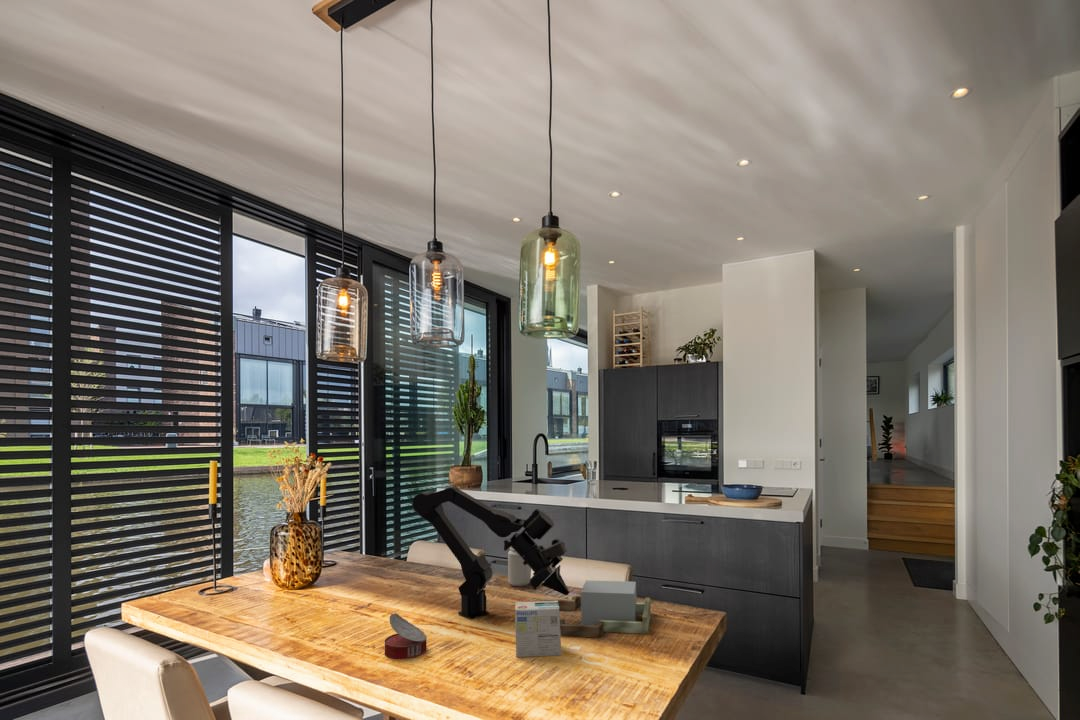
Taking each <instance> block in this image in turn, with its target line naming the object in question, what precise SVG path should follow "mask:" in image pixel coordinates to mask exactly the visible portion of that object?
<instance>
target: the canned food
mask: <svg viewBox="0 0 1080 720" xmlns="http://www.w3.org/2000/svg"><path fill="white" fill-rule="evenodd" d="M389 624H390V626H391V628H392V629H393V631H394V632H395V633H394V634H392V635H390V636H387V637H386V638H385V639H384V656H385V657H386V658H388V659H391V660H411V659H414V658H417V657H421V656H422V655H424V654H425V653H426V652H427V635H426V634H425V632H424V631H423V630H422V629H420V628H419V627H418V626H416V625H414V624H413V623H411V622H409V621H408V620H407V619H405V618H403V617H402V616H401V615H400V614H397V613H396V612H395V613H391V614H390V616H389Z"/></svg>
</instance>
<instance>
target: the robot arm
mask: <svg viewBox="0 0 1080 720" xmlns="http://www.w3.org/2000/svg"><path fill="white" fill-rule="evenodd" d="M447 502H449V503H452V504H453V505H455V506H456V507H458V508H460V509H462V510H463V511H465V512H467V513H468V514H470V515H472V516H473V517H475V518H477V519H479V520H480V521H482V522H484V524H485V525H486V526H487V528H488V529H489V530H490V531H492V532H493V533H494V534H495V535H496V536H498V537H499V538H506V539H504V540H503V545H504V547H503V551H504V552H506V551H508V550H510V548H511V547H512V548H513V549H514V550H515V551H516V553H517V554H518V555H519V556H520V557H521V558H522V557H523V556H524V555H525V556H524V557H523V558H522V559H523V560H524V562H523V564H524V565H526V564H527V565H528V566H529V567H530V569H531V570H532V571H533V573H532V575H533V576H531V579H530V582H529V585H530V586H531V587H532V589H533V590H536V589H537V588H538V587H540V586H542V587H545V588H547V589H550V590H553V591H556V592H557V593H560V594H562V595H565V596H568V595H569V594H570V590H569V588H568V587H567V585H566V583H565V580H564V579H563V577H562V575H561V564H560V563H561V562H562V561H563V560H564V558H563V556H564V555H565V554H566V553H567V551H568V550H567V549H566V546H565V545H566V543H565V542H563V540H562V539H561V540H560V539H559V538H554V539H552V541H551V545H549V546H547V547H544V546H543V545H541V544H540V545H538V544H537V542H536V541H535V540H541V539H542V538H544V536H545V535H547V533H549V532H550V531H551V529H553V527H554V526H555V523H554V521H553V520H552V518H551V517H550V516H549V515H548V514H546V513H545V512H543V511H541V510H540V508H538V507H537V508H536V509H534V510H533V512H532V513H531V515H529V517H528V518H526V519H523V518H519V517H516V516H515V515H514V514H512V513H509V512H507V511H503V510H500V509H496V508H492V507H490V506H489V505H487V504H485V503H483V502H481V501H480V500H478V499H476V498H475V497H473V496H472V495H470V494H468V493H467V492H464V491H462V490H461V489H460V488H458V487H457V486H454V485H452V486H449V487H446V488H445V489H442V490H438V491H433V490H427V491H424V492H420V493H417V494H416V495H415V496H414V497H413V499H412V503H411V506H412V508H413V510H414V511H415V513H417V514H418V515H419V517H421V518H422V519H423V520H425V521H426V522H428V523H430V524H431V525H432V527H433V528H434V529H435V531H436V532H437V534H438V535H439V537H440V538H441V539H442V540H443V542H444V543H445V545H446V546H447V547H448V549H449V550H450V551H451V553H452V554H453V556H454V557H455V559H456V560H457V561H458V563H459V565H460V568H461V572H462V575H463V577H464V579H465V581H463V583H462V584H461V585H460V586H458V591H459V595H460V596H461V598H460V599H461V600H460V603H461V604H460V605H461V607H460V608H461V609H460V610H461V611H458V612H457V614H458V615H459V616H462V617H466V618H468V619H474V618H478V617H483V616H485V615H489V614H490V611H488V610H487V595H486V590H485V589H486V588H487V587H486V586H487V584H488V583H489V582H490V581H491V580H492V578H493V569H492V564H491V563H490V562H489V561H488V560H487V559H486V557H485V555H484V554H481V555H479V556H478V555H476V554H475V553H474V552H473V550H471V548H470V547H469V546H468V544H467V543H466V541H465V540H464V538H462V536H461V534H460V533H459V532H458V531H457V528H455V527H454V525H453V524H452V522H451V521H450V519H449V518H448V517H447V515H446V514H445V510H444V506H443V504H444V503H447ZM523 528H524V529H523ZM522 529H523V530H522ZM520 530H522V531H521V532H520V533H518V532H519V531H520ZM513 533H514V534H513ZM512 534H513V535H512ZM511 535H512V536H511ZM510 536H511V537H510ZM507 537H510V538H509V539H508V538H507ZM557 565H558V566H557Z"/></svg>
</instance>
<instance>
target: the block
mask: <svg viewBox="0 0 1080 720" xmlns="http://www.w3.org/2000/svg"><path fill="white" fill-rule="evenodd" d="M580 596H581V606H580V612H581V614H580V616H581V617H580V618H581V621H580V622H581V625H593V626H597V624H598V622H599V620H614V621H635V622H637V618H638V613H637V603H638V602H637V601H638V600H637V583H636V581H622V580H620V581H619V580H585V581H584V584H583V587H581V590H580Z"/></svg>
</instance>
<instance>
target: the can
mask: <svg viewBox="0 0 1080 720" xmlns="http://www.w3.org/2000/svg"><path fill="white" fill-rule="evenodd" d="M524 556H525V555H524ZM524 556H523V557H524ZM523 557H522V558H523ZM522 558H521V557H520V556H519V555H518V554H517V553H516V551H515V550H514V549H513V548H512V547H510V548H509V551H508V552H507V564H508V565H507V570H508V571H507V574H508V575H507V576H508V577H507V578H508V579H507V580H508V583H509V584H510V585H511V586H513V587H525V586H528V585H530V579H531V578H532V576H531V575H532V574H531V573H532V572H531V570H532V569H531V568H530V567H529V566H528V565H527V564H526V565H524V564H523V562H524V560H523V559H522Z"/></svg>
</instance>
